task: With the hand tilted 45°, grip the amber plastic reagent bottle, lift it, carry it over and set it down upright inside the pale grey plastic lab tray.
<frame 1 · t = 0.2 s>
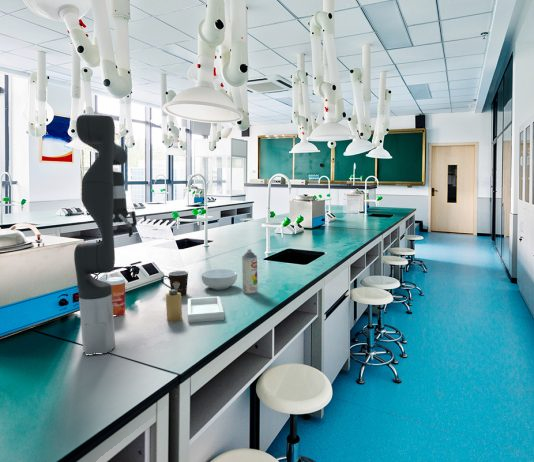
hand: (119, 237, 162), 29 cm above the worktop, tool pointing down, fingers open, 8 cm apart
lab tray: (205, 312, 156), on the worktop
amber bottle: (174, 319, 149), on the worktop
coffee mug: (176, 294, 181), on the worktop
cereal bowl: (219, 287, 192), on the worktop
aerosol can: (250, 292, 182), on the worktop
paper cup: (117, 314, 155), on the worktop
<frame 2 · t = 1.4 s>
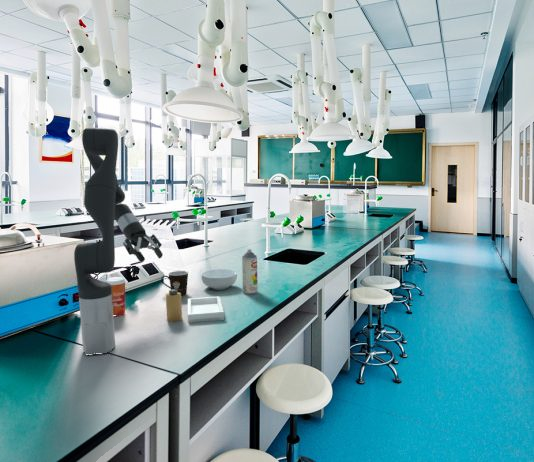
hand: (152, 258, 152), 22 cm above the worktop, tool tilted 45°, fingers open, 8 cm apart
nothing on the worktop moved.
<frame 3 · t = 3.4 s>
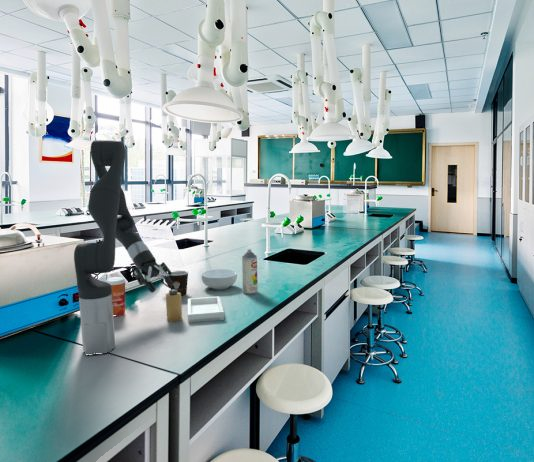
hand: (162, 288, 150), 11 cm above the worktop, tool tilted 45°, fingers open, 8 cm apart
nothing on the worktop moved.
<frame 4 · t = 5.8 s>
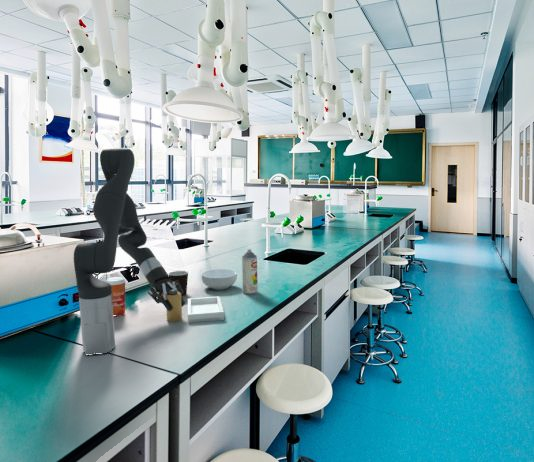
hand: (177, 307, 147), 5 cm above the worktop, tool tilted 45°, fingers closed on amber bottle, 5 cm apart
amber bottle: (174, 319, 149), on the worktop, touching gripper
everything else where it was.
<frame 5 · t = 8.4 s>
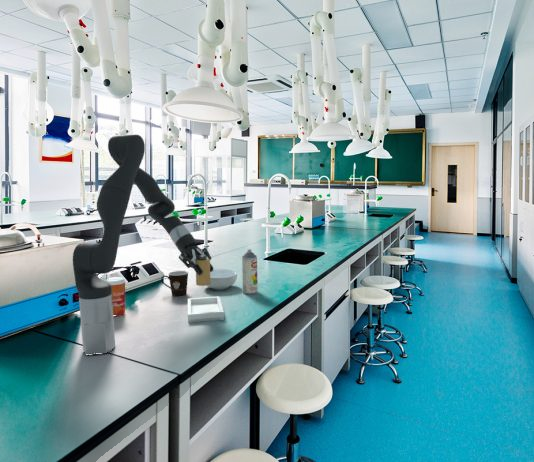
hand: (206, 272, 153), 16 cm above the worktop, tool tilted 45°, fingers closed on amber bottle, 5 cm apart
amber bottle: (203, 283, 155), point 11 cm above the worktop, touching gripper
everything else where it was.
when the fingers open (7 cm above the worktop, at t = 11.0 s): amber bottle drops 1 cm, resting on lab tray.
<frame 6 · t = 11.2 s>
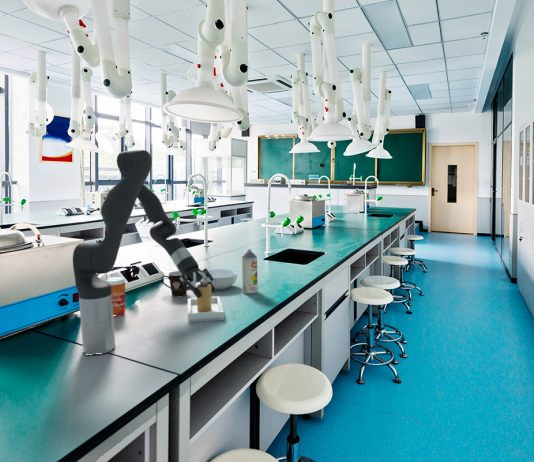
hand: (207, 294, 154), 8 cm above the worktop, tool tilted 45°, fingers open, 7 cm apart
amber bottle: (204, 309, 156), point 1 cm above the worktop, touching lab tray
everything else where it was.
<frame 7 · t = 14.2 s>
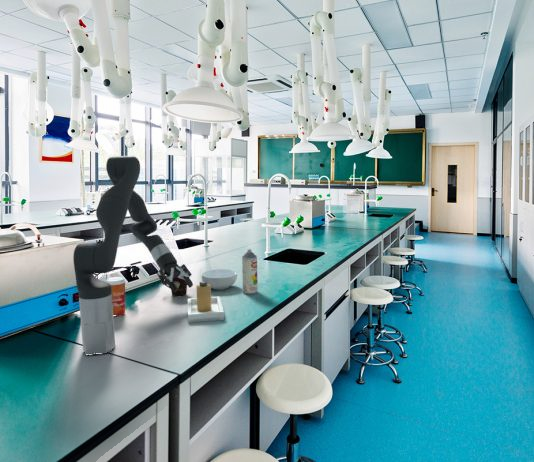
hand: (183, 288, 160), 8 cm above the worktop, tool tilted 45°, fingers open, 8 cm apart
nothing on the worktop moved.
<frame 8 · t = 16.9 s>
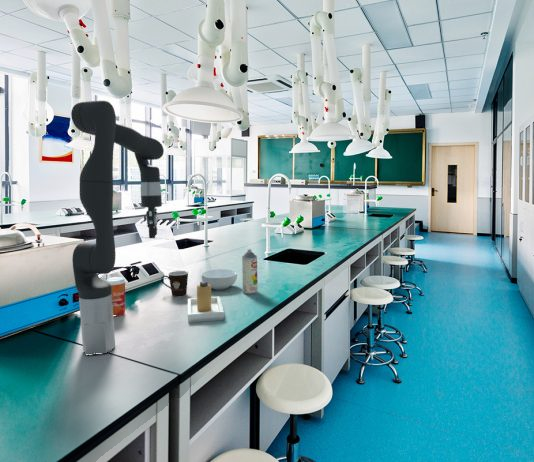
hand: (153, 236, 153), 30 cm above the worktop, tool pointing down, fingers open, 8 cm apart
nothing on the worktop moved.
at the end: amber bottle inside the target area on the lab tray (0.2 cm from its centre), point 1.0 cm above the lab tray's base; amber bottle tilted 1°; the gripper is holding nothing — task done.
